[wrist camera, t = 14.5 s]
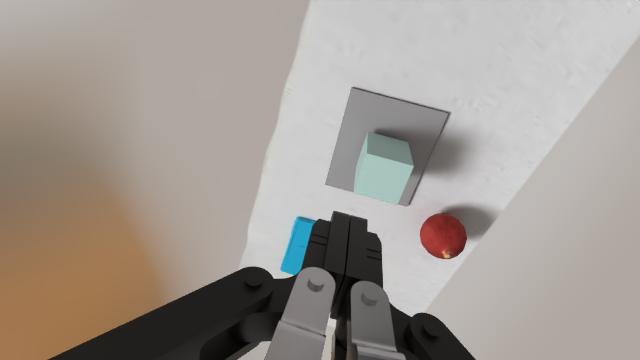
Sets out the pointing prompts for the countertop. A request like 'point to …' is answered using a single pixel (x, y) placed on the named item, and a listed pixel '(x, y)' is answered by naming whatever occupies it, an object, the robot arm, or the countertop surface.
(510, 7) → the countertop surface
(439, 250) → the onion
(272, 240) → the countertop surface
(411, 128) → the mat
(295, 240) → the sponge
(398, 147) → the mint green square prism
